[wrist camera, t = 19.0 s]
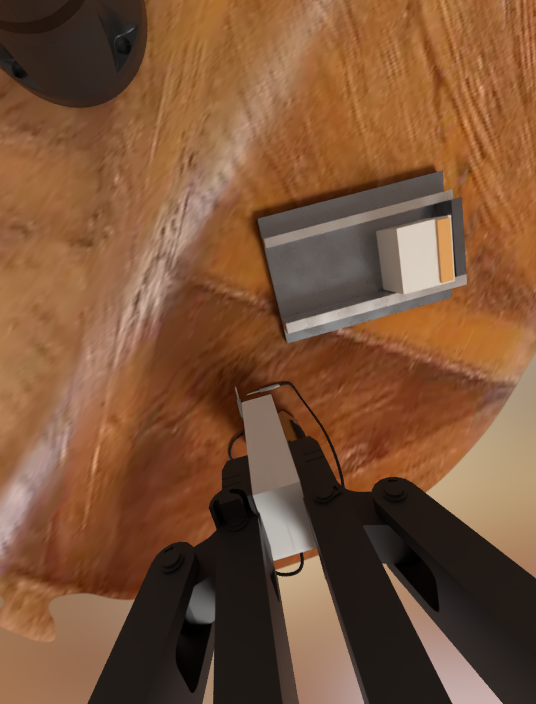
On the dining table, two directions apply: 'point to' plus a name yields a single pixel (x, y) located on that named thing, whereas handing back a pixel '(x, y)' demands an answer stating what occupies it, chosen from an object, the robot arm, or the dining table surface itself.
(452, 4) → the dining table surface
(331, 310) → the rail base
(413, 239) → the block
